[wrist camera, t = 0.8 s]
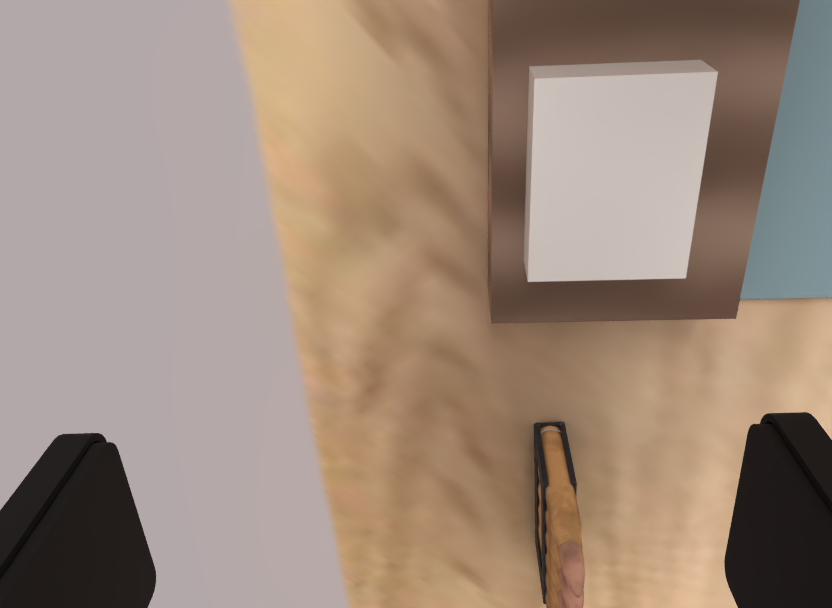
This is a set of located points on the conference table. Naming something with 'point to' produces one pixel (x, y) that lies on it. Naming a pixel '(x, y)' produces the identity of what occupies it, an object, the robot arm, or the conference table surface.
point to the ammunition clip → (557, 519)
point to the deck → (724, 158)
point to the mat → (798, 173)
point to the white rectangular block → (614, 168)
